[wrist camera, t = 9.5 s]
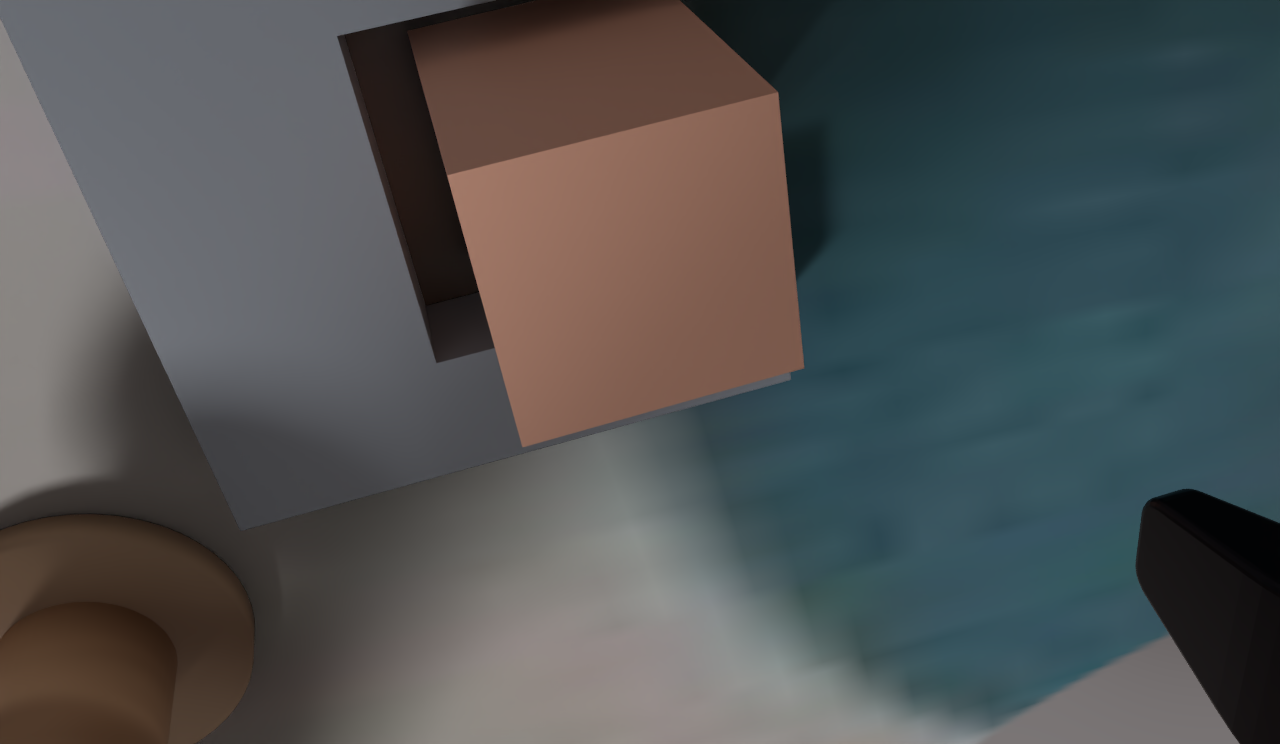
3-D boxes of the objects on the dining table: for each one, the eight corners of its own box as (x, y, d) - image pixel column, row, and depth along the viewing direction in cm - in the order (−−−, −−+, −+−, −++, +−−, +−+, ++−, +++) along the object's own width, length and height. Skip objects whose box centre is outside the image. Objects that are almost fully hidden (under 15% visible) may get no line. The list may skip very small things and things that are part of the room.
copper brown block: (684, 196, 21) (804, 368, 16) (468, 252, 20) (522, 447, 15) (651, -27, 18) (778, 92, 14) (407, 30, 18) (446, 174, 13)
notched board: (755, 326, 22) (790, 379, 21) (244, 463, 21) (239, 530, 20) (691, -243, 17) (734, -231, 15) (-6, -101, 16) (-42, -71, 14)
